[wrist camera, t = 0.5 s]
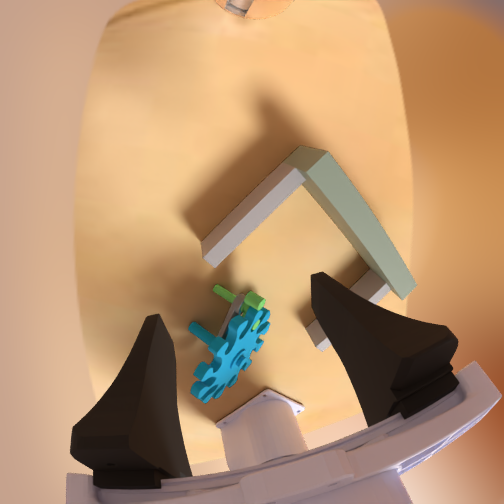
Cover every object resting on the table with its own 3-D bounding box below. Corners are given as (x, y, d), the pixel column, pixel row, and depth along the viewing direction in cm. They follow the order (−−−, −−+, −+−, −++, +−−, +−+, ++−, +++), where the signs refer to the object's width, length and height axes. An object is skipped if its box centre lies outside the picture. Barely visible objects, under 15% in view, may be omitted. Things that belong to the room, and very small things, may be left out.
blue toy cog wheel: (246, 384, 29) (189, 424, 20) (204, 354, 32) (140, 380, 23) (293, 295, 27) (243, 311, 18) (243, 267, 30) (178, 268, 21)
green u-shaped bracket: (311, 333, 30) (330, 365, 26) (200, 242, 24) (204, 271, 19) (388, 262, 28) (417, 285, 24) (300, 145, 22) (327, 151, 17)
